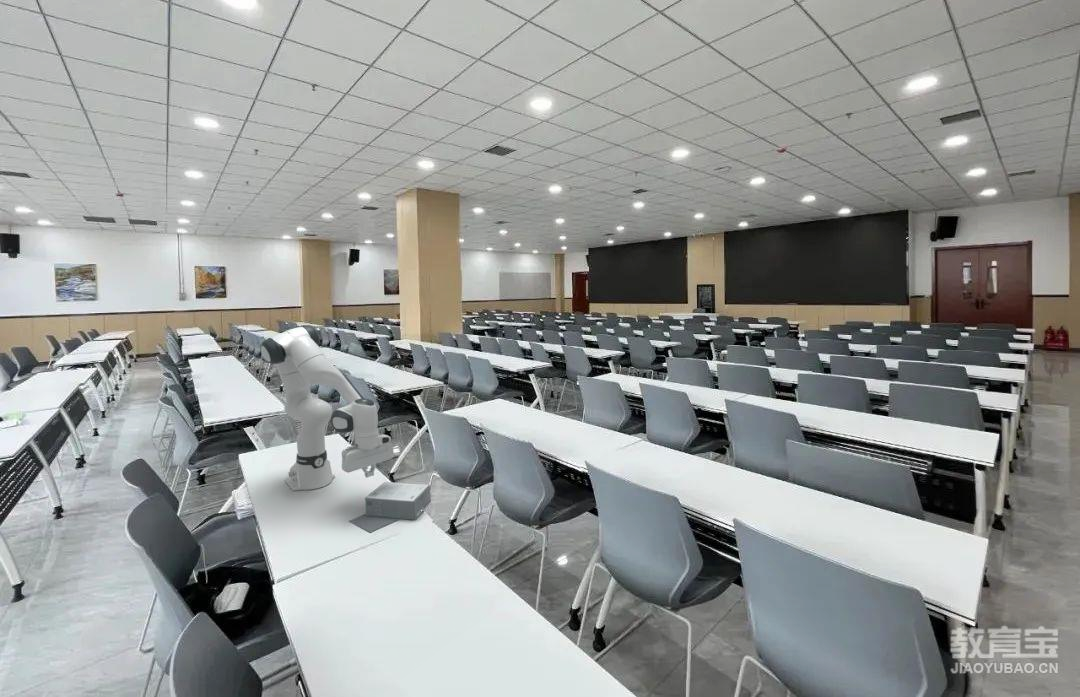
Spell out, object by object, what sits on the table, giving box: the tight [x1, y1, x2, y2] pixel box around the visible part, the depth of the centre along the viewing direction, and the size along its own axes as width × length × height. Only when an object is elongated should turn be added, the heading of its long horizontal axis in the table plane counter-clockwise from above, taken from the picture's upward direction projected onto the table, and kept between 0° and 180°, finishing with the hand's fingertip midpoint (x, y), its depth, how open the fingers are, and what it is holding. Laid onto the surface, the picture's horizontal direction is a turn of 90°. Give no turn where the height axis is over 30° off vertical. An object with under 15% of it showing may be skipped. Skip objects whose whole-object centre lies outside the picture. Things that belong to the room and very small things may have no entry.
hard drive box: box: [364, 481, 432, 520], centre depth 196 cm, size 16×8×20 cm
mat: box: [348, 513, 401, 534], centre depth 192 cm, size 14×22×1 cm, turn 141°
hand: (369, 476), depth 194 cm, fingers closed
